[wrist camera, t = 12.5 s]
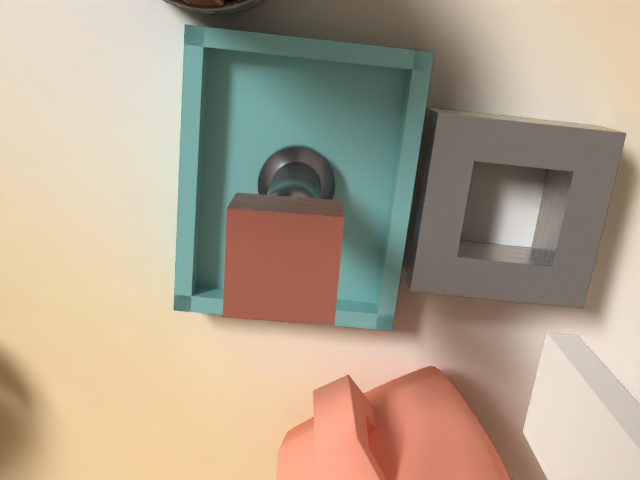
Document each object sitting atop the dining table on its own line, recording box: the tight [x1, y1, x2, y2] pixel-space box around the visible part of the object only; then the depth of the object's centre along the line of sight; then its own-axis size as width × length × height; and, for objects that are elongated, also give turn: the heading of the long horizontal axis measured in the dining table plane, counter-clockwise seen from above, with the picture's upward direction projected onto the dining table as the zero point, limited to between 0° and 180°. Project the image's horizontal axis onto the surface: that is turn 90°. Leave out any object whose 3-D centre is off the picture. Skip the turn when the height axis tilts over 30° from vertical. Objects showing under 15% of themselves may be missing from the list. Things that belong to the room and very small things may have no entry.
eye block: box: [402, 107, 626, 308], centre depth 35 cm, size 10×10×4 cm
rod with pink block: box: [223, 145, 345, 325], centre depth 29 cm, size 4×4×15 cm
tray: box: [174, 25, 434, 331], centre depth 35 cm, size 16×13×2 cm
